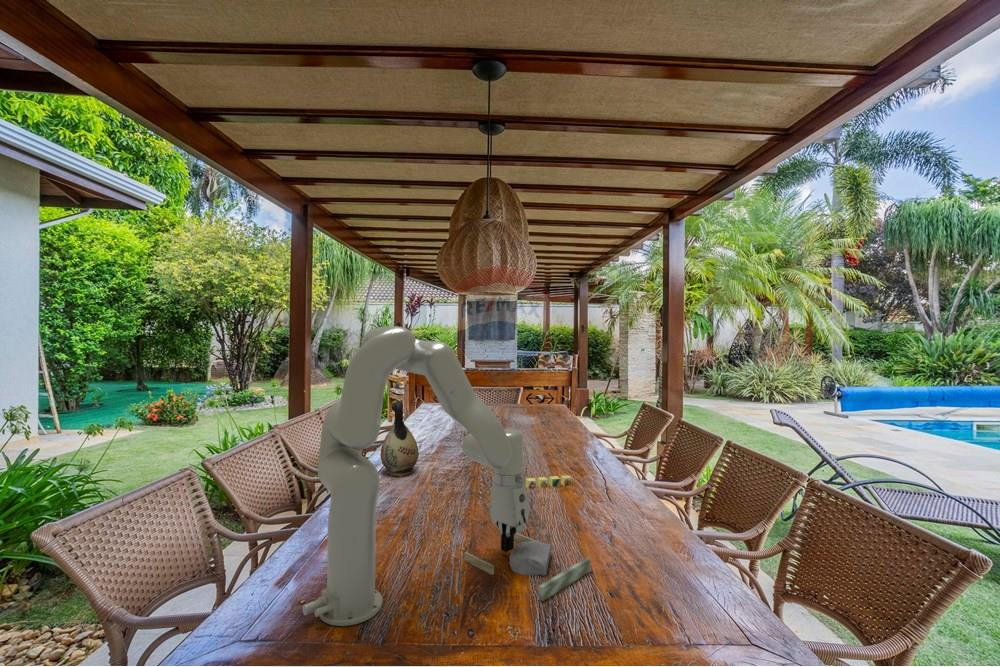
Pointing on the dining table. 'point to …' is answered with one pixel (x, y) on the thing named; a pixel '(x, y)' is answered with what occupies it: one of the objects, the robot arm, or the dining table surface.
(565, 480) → the yellow picture cubes row
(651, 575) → the dining table surface
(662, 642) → the dining table surface
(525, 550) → the stone block
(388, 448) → the round beige bottle
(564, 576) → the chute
